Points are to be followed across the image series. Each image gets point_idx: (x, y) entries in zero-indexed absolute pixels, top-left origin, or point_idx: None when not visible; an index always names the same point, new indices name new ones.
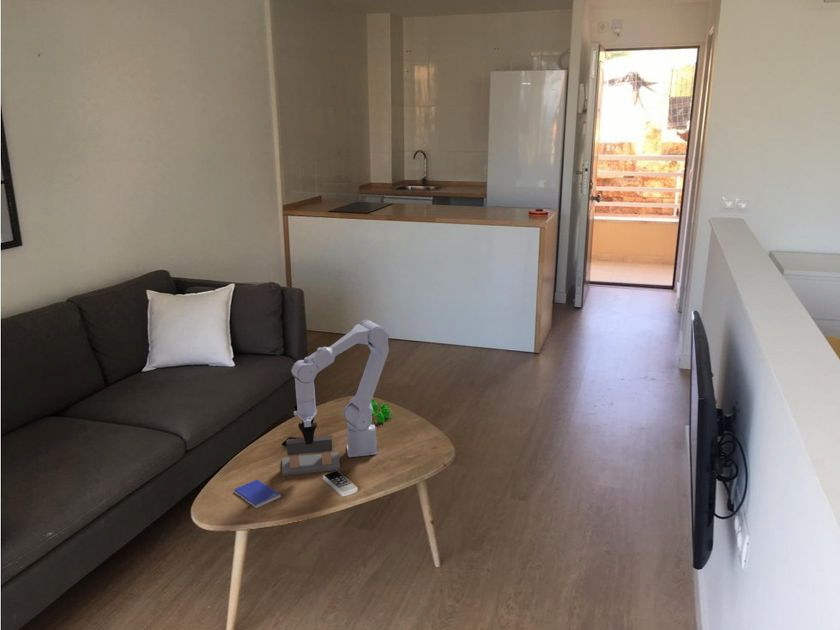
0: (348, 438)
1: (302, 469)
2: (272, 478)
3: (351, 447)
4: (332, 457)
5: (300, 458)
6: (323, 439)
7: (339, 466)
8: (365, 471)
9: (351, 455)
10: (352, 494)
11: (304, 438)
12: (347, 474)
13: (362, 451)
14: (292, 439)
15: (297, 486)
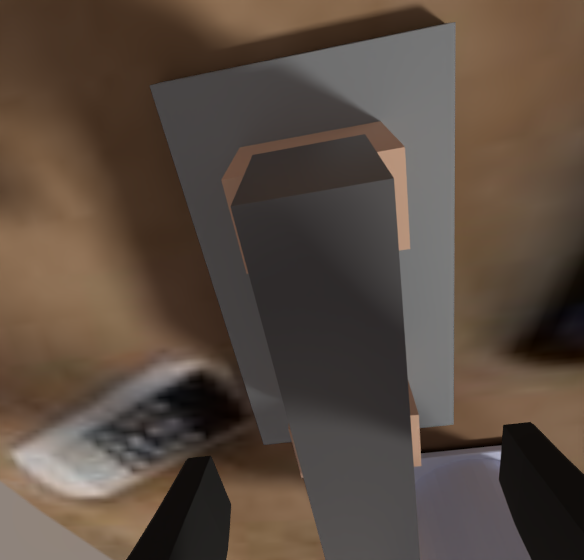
0: (479, 557)
1: (224, 249)
2: None
3: (436, 512)
4: None
5: (408, 205)
6: (339, 546)
7: (268, 441)
8: (248, 514)
9: None
10: (37, 484)
11: (136, 545)
12: (216, 458)
13: None
14: (386, 269)
15: (35, 234)
